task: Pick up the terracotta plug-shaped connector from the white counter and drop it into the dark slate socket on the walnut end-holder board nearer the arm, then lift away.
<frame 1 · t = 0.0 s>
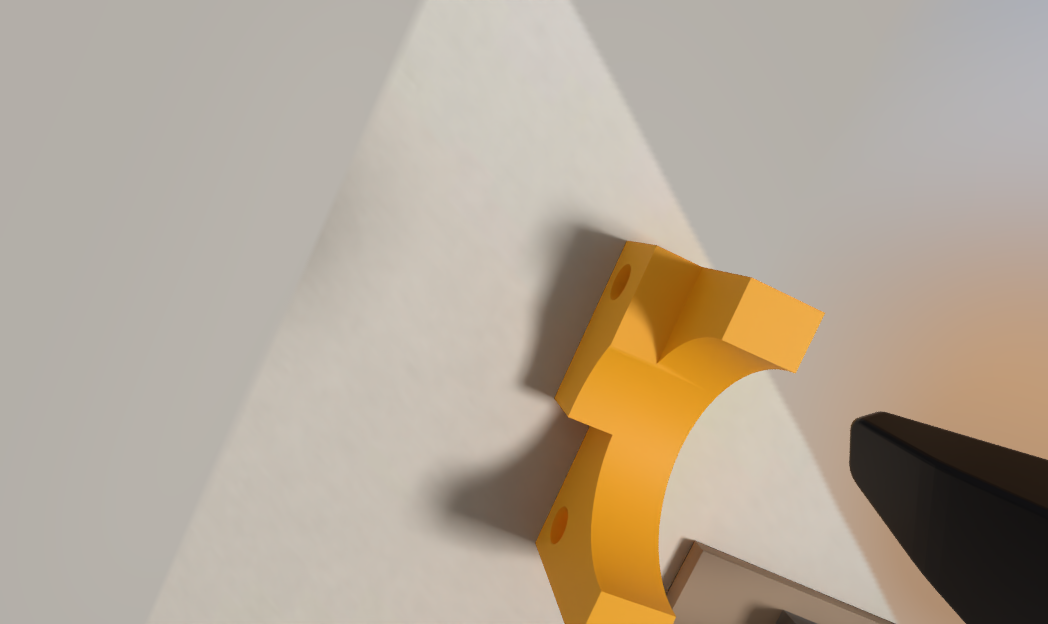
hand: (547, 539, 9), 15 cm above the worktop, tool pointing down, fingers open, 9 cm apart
pipe clamp: (606, 405, 26), on the worktop
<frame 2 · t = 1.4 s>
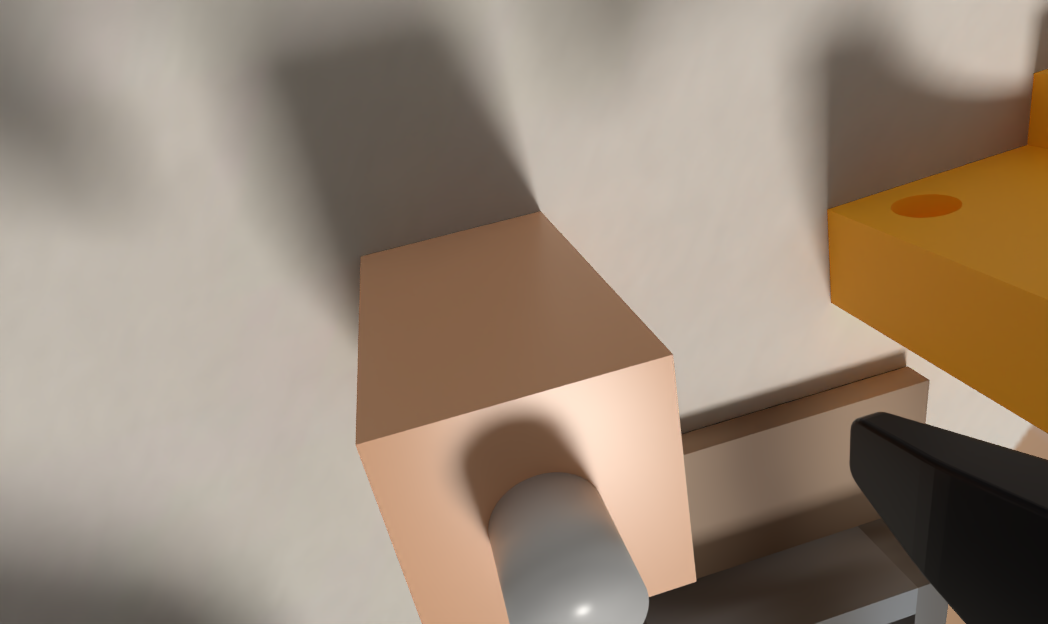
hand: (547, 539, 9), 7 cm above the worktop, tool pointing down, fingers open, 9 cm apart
pipe clamp: (1029, 153, 17), on the worktop
connector: (472, 315, 15), on the worktop
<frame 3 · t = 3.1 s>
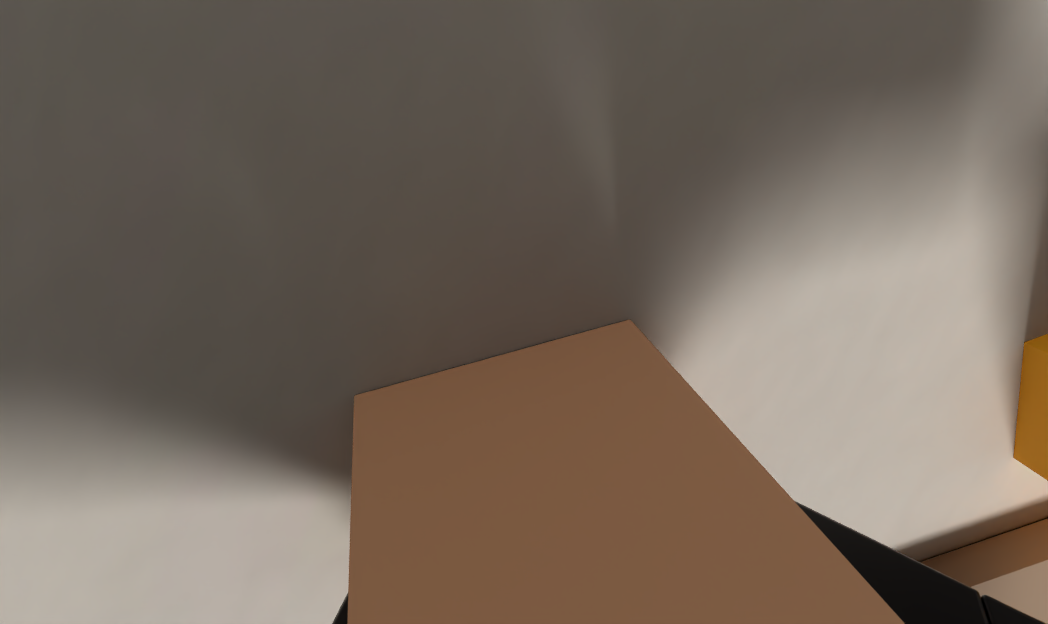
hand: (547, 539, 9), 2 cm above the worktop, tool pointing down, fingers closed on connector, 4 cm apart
connector: (522, 468, 10), on the worktop, touching gripper
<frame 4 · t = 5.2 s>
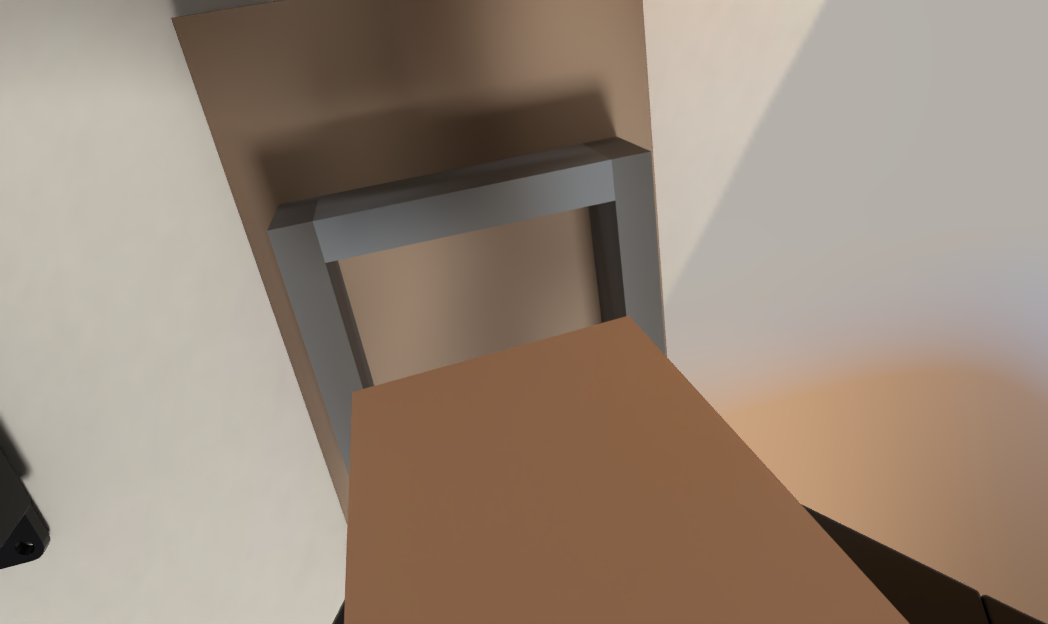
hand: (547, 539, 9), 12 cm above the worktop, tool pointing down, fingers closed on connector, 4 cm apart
end holder: (479, 311, 20), on the worktop
connector: (521, 465, 10), point 10 cm above the worktop, touching gripper
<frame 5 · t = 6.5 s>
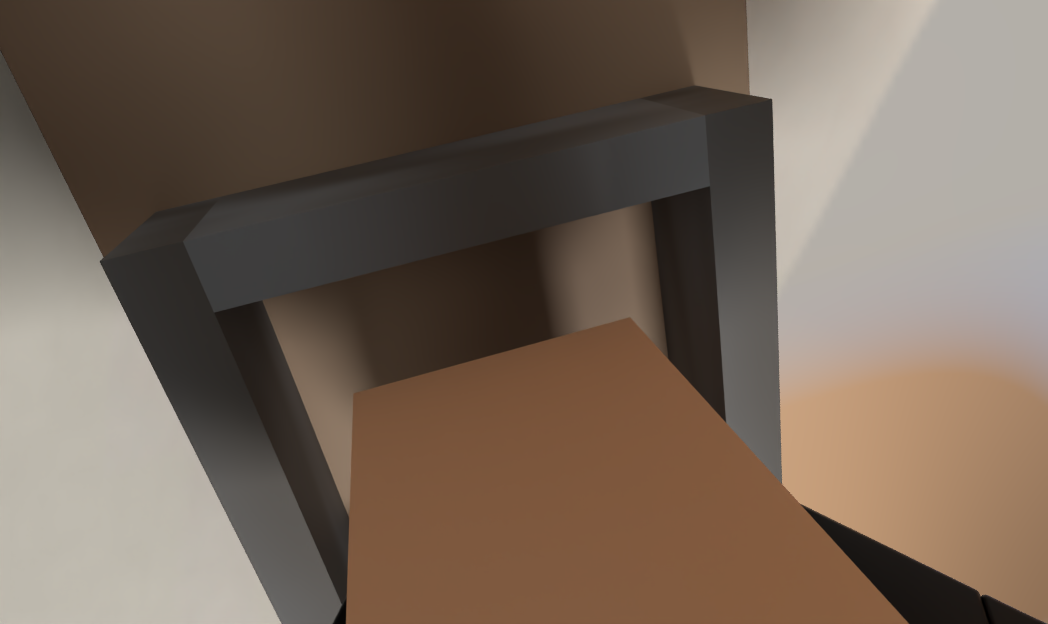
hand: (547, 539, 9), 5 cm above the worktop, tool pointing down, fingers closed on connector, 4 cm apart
end holder: (488, 359, 13), on the worktop
connector: (521, 466, 10), point 4 cm above the worktop, touching gripper
when the fingers open (4 cm above the worktop, at t = 7.4 s): connector drops 2 cm, resting on end holder.
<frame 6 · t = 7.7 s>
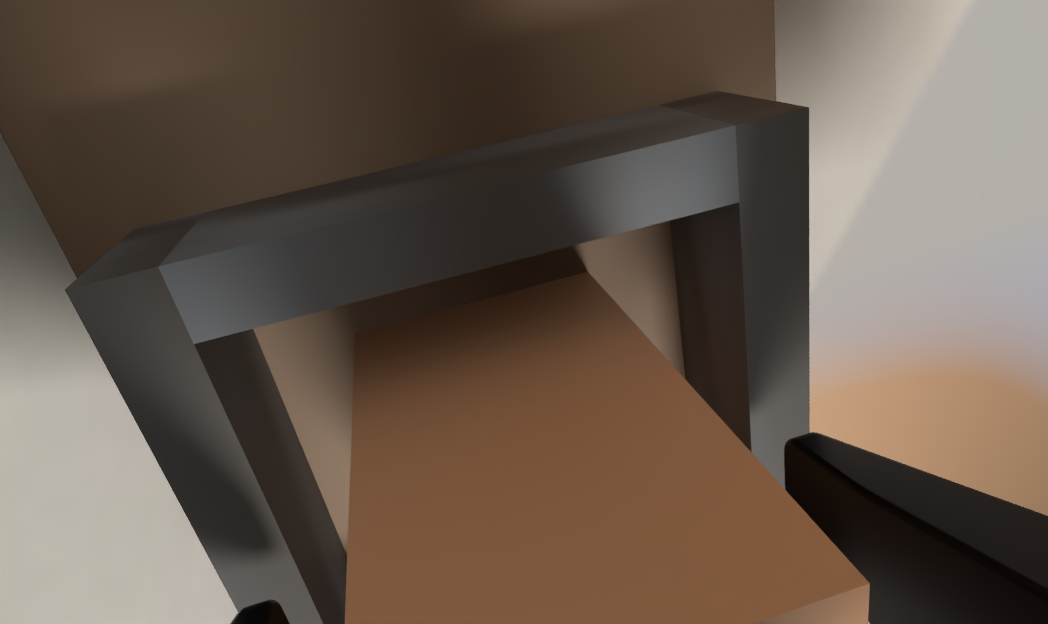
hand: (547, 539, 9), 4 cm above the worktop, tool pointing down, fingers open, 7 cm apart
end holder: (493, 381, 13), on the worktop
connector: (498, 401, 12), point 1 cm above the worktop, touching end holder
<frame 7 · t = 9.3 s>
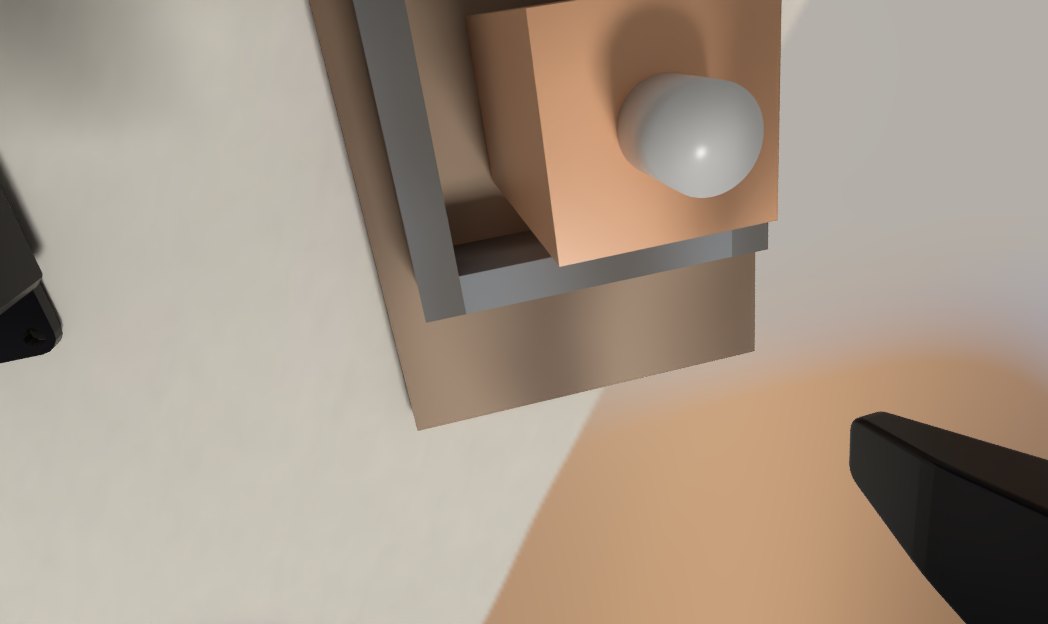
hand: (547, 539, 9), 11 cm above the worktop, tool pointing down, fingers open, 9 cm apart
end holder: (550, 88, 18), on the worktop
connector: (556, 88, 17), point 1 cm above the worktop, touching end holder
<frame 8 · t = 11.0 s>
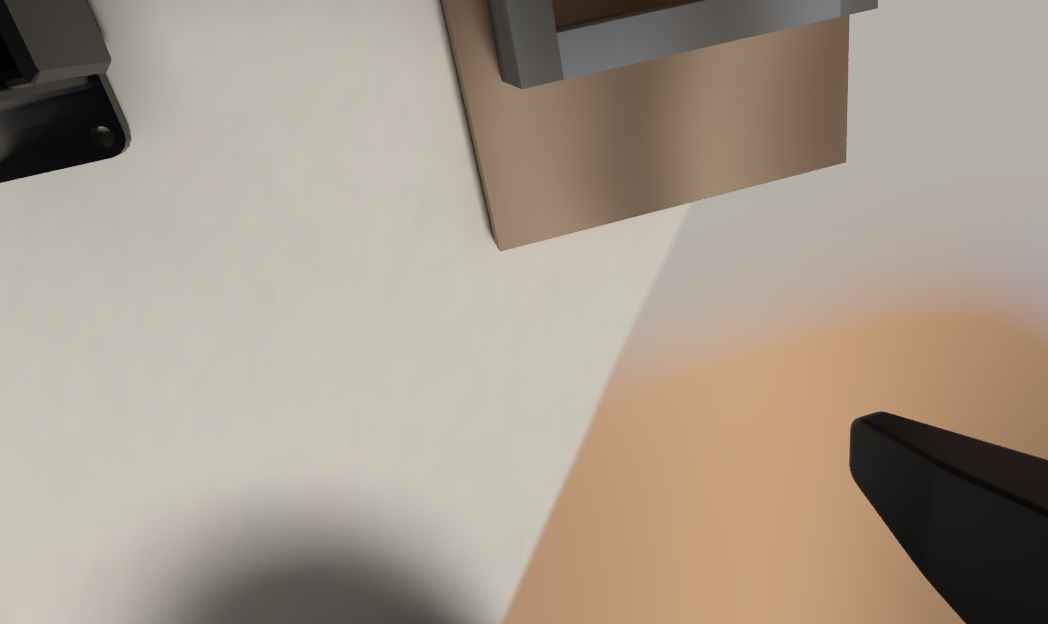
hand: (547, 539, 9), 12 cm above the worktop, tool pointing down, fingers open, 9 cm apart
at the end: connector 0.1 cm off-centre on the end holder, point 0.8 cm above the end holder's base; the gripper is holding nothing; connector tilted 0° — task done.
